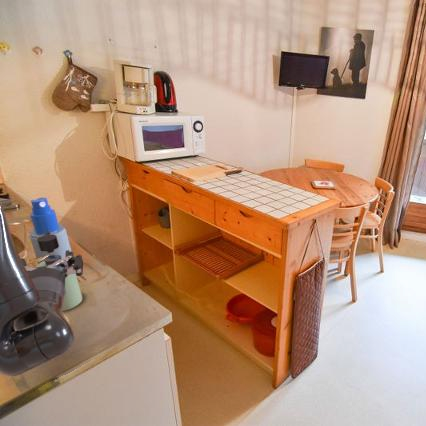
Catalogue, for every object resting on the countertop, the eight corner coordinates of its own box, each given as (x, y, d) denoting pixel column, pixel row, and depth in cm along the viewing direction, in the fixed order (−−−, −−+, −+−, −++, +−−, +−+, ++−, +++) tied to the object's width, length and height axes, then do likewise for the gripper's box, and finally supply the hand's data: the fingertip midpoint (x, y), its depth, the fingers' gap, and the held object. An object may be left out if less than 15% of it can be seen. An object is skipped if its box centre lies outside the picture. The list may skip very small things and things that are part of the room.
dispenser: (82, 305, 91) (70, 261, 85) (46, 315, 87) (31, 269, 81) (82, 290, 97) (71, 248, 91) (48, 299, 92) (34, 254, 87)
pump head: (60, 253, 85) (56, 239, 83) (40, 256, 83) (36, 242, 81) (60, 241, 90) (57, 228, 88) (42, 245, 88) (38, 231, 86)
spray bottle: (80, 267, 108) (62, 199, 98) (48, 279, 100) (26, 207, 91) (67, 259, 112) (49, 192, 102) (36, 270, 105) (13, 199, 95)
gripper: (80, 268, 69) (78, 238, 81) (-12, 288, 61) (2, 251, 73) (87, 296, 72) (85, 263, 84) (1, 319, 64) (12, 278, 76)
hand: (46, 257), depth 78 cm, fingers open, 8 cm apart
